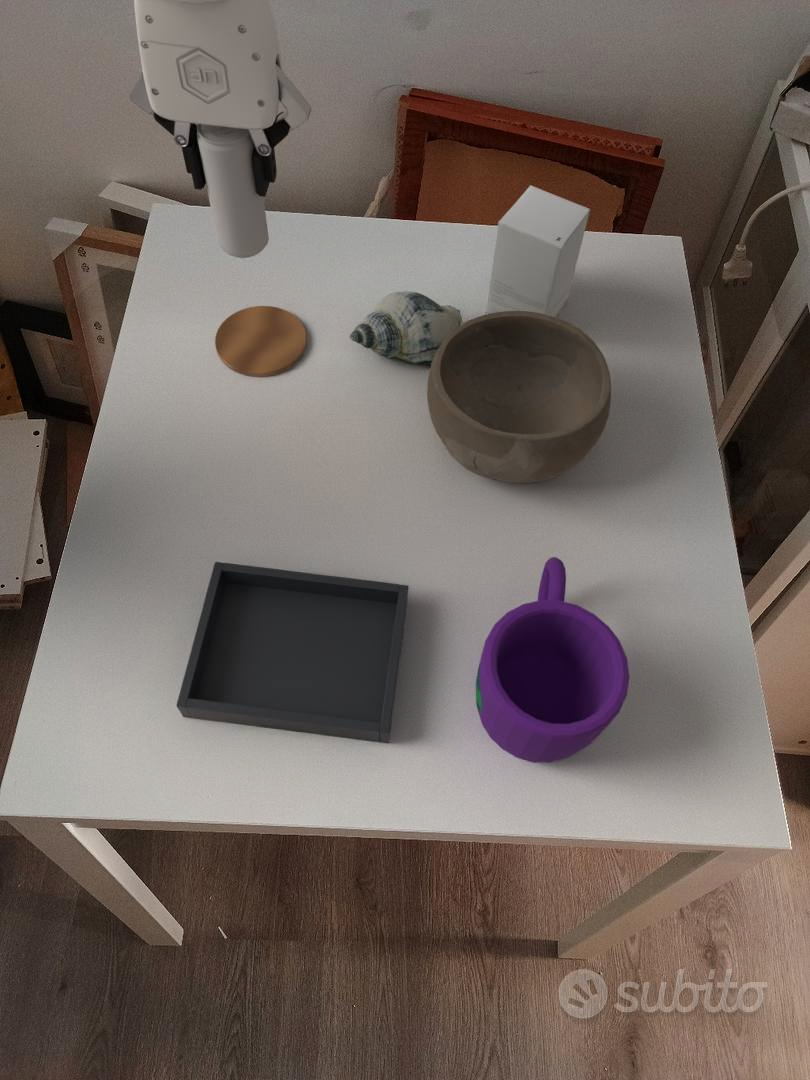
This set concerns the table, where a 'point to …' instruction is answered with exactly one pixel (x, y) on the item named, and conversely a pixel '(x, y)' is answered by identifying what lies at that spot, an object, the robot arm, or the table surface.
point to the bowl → (518, 395)
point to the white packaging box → (536, 253)
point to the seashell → (407, 327)
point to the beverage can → (233, 189)
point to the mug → (550, 675)
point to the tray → (296, 652)
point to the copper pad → (261, 341)
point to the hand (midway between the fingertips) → (233, 181)
